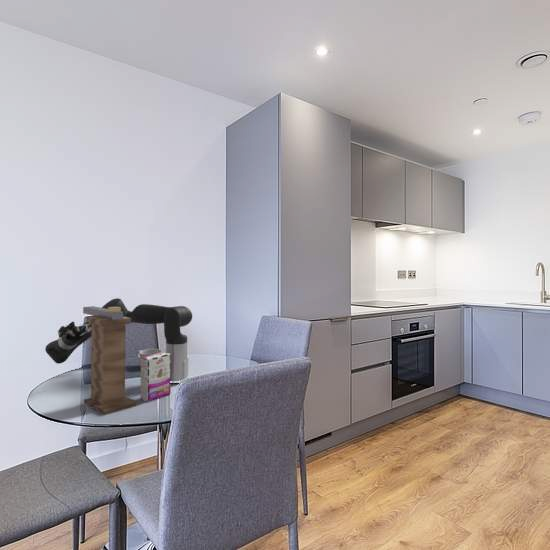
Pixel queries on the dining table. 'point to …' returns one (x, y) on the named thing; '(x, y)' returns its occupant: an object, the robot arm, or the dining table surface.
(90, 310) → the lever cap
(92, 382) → the stand
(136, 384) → the dining table surface
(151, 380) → the candy bar box
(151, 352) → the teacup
